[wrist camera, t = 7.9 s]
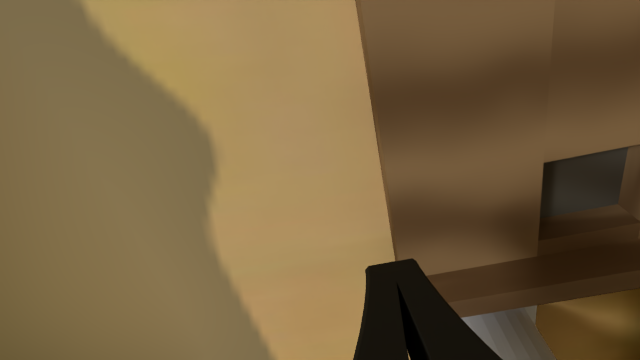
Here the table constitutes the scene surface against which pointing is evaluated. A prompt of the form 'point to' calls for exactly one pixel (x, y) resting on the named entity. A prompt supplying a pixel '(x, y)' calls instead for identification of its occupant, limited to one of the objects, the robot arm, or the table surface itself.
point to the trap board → (509, 144)
